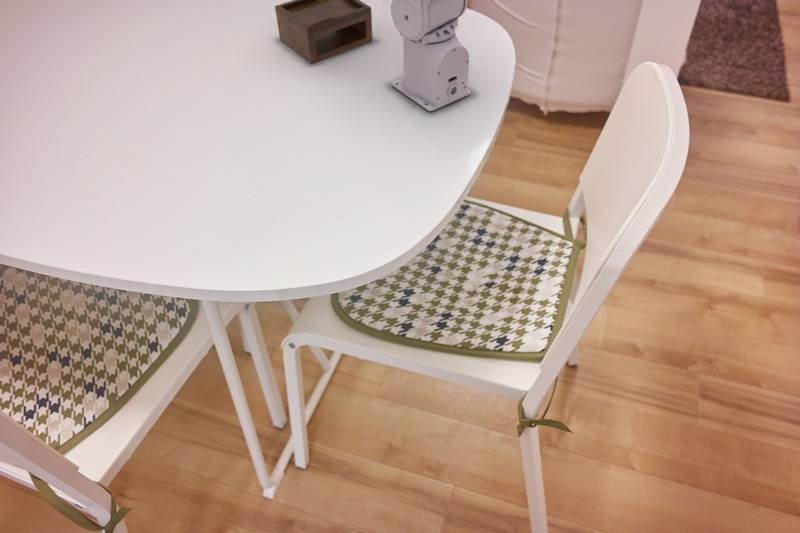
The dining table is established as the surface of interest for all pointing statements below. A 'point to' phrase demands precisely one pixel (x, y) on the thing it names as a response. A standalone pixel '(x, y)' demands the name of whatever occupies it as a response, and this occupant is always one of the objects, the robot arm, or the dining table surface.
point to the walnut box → (324, 26)
